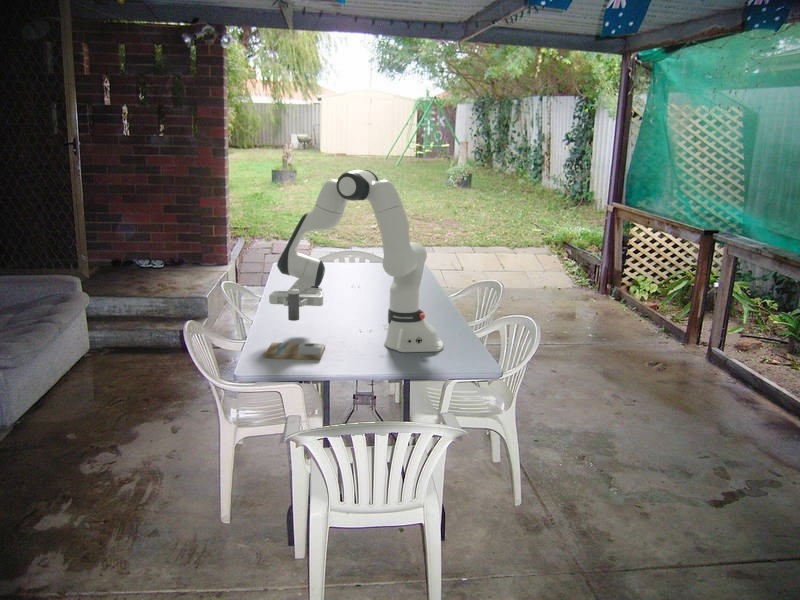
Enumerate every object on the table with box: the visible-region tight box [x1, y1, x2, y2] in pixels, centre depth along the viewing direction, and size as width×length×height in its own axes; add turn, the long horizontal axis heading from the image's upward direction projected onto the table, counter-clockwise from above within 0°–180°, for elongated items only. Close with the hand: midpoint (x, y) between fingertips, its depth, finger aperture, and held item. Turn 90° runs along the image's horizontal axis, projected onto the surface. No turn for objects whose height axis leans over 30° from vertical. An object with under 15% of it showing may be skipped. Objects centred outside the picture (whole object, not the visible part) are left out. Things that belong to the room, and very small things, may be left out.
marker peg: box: [287, 288, 300, 322], centre depth 251 cm, size 4×4×11 cm
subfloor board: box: [264, 342, 326, 361], centre depth 249 cm, size 20×13×2 cm, turn 89°
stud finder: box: [298, 342, 323, 355], centre depth 245 cm, size 8×4×3 cm, turn 89°
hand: (293, 304), depth 250 cm, fingers closed on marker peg, 4 cm apart
